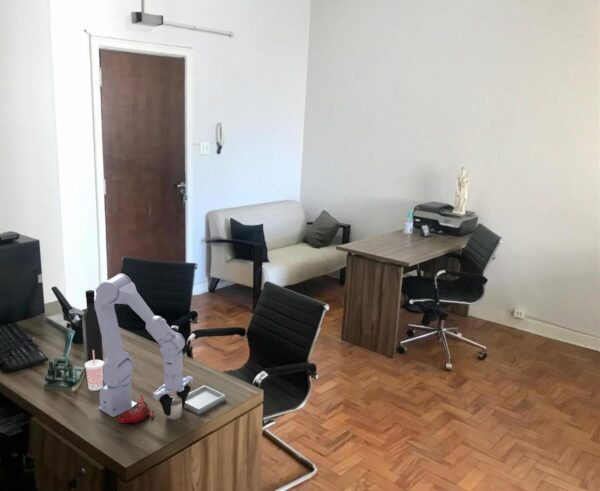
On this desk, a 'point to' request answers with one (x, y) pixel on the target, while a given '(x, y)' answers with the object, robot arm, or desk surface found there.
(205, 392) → the tray
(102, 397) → the robot arm
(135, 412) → the decorative bird figurine
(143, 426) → the desk surface
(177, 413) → the espresso cup
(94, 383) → the beverage cup
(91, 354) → the wine bottle
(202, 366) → the desk surface
